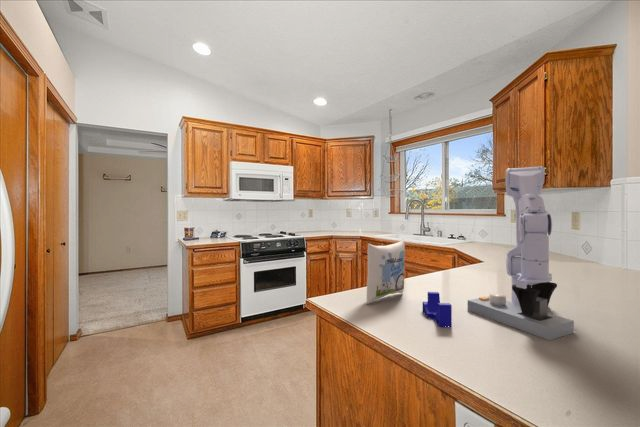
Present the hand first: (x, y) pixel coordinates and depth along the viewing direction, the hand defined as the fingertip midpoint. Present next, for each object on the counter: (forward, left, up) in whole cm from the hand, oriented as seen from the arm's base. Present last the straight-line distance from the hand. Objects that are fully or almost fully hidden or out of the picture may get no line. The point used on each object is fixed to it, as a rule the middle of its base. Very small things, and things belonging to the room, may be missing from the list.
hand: (534, 311), depth 74 cm
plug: (0, 0, -3) cm, 3 cm away
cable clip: (+19, -15, -4) cm, 24 cm away
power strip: (0, -5, -4) cm, 6 cm away
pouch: (+21, -35, -4) cm, 41 cm away
